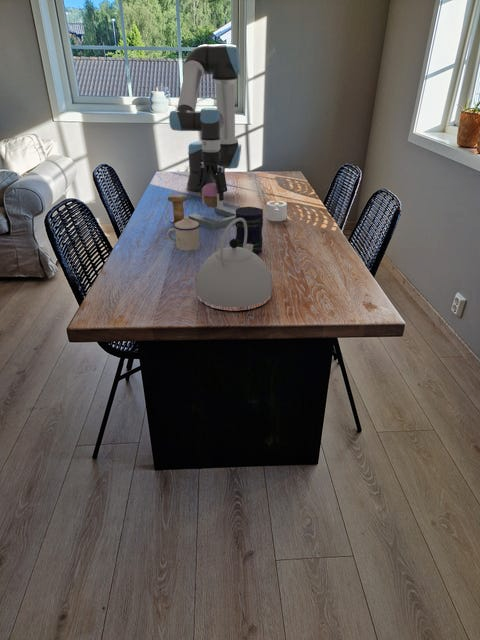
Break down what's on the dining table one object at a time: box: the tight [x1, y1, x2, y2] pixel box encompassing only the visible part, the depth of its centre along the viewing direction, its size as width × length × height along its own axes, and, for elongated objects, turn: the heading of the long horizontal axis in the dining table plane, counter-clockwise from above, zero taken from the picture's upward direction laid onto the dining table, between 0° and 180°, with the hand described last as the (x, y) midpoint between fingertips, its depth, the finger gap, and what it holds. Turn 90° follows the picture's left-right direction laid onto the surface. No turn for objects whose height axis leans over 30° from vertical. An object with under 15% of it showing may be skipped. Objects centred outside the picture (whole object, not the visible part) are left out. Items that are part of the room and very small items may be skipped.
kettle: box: [196, 218, 273, 307], centre depth 130 cm, size 25×23×22 cm
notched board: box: [187, 205, 236, 231], centre depth 192 cm, size 16×20×2 cm
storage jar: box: [234, 206, 264, 256], centre depth 159 cm, size 10×10×15 cm
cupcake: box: [201, 183, 221, 208], centre depth 189 cm, size 9×9×10 cm
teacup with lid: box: [166, 215, 201, 251], centre depth 163 cm, size 12×9×12 cm
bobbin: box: [167, 193, 188, 224], centre depth 187 cm, size 8×8×11 cm
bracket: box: [265, 200, 288, 222], centre depth 199 cm, size 20×9×7 cm, turn 176°
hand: (212, 205), depth 192 cm, fingers closed on cupcake, 9 cm apart
